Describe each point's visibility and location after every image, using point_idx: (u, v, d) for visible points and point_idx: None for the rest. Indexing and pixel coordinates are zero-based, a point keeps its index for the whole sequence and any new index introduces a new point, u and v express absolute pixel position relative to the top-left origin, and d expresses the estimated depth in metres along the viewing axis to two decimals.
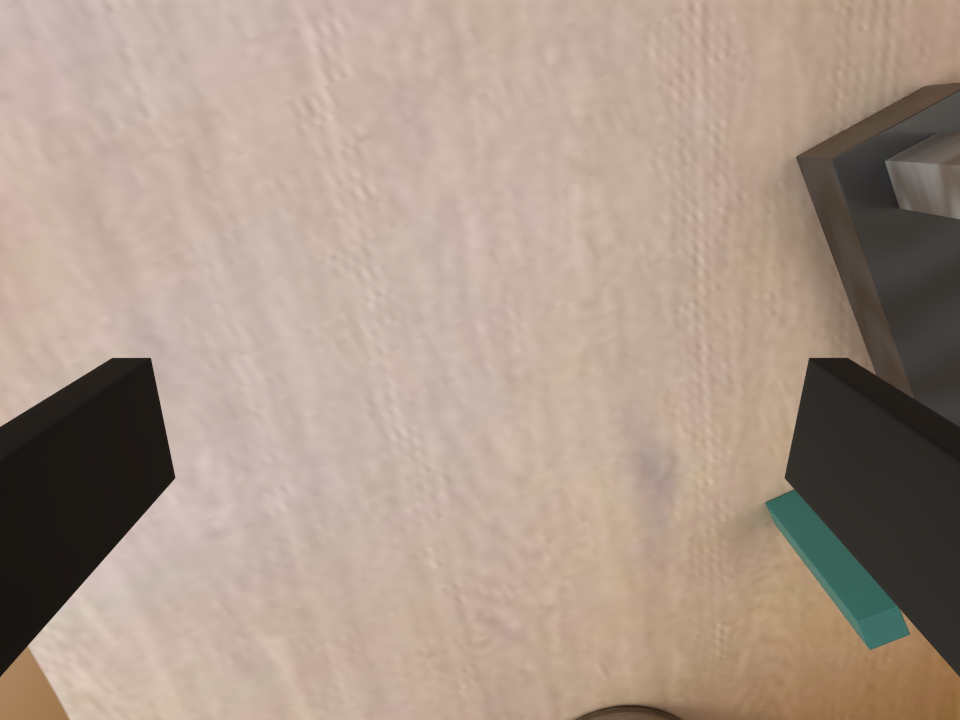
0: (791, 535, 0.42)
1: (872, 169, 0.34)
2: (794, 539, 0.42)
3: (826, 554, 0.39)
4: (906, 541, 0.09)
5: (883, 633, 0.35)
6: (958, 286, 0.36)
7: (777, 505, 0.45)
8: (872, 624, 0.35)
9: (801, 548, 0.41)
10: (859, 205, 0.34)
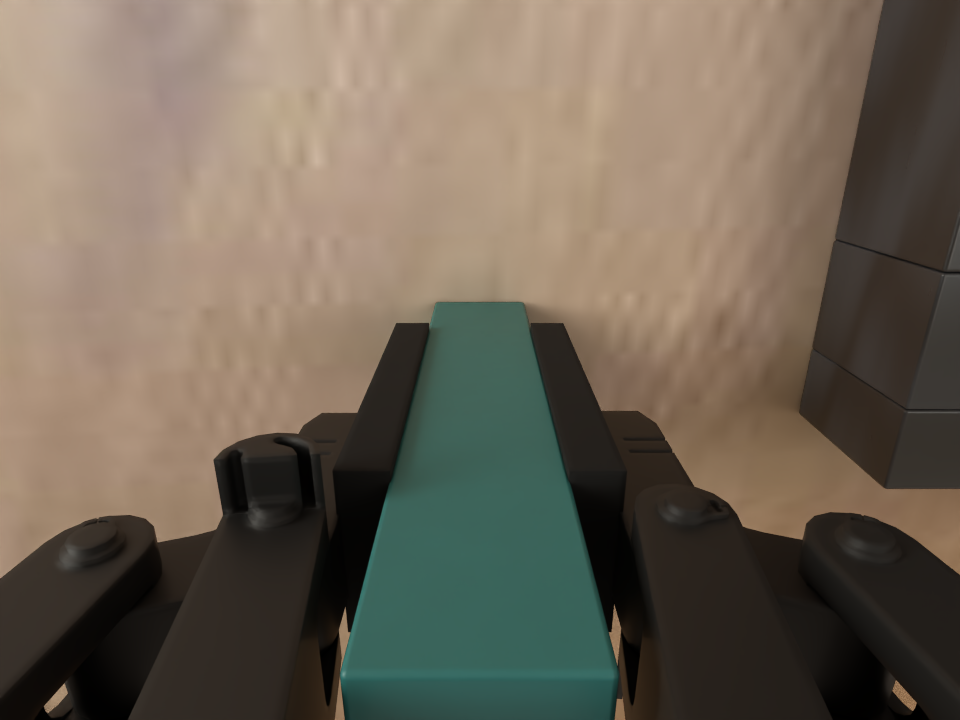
0: (425, 353, 0.13)
1: None
2: (423, 361, 0.12)
3: (475, 406, 0.10)
4: None
5: None
6: None
7: (456, 310, 0.16)
8: None
9: (418, 379, 0.11)
10: None
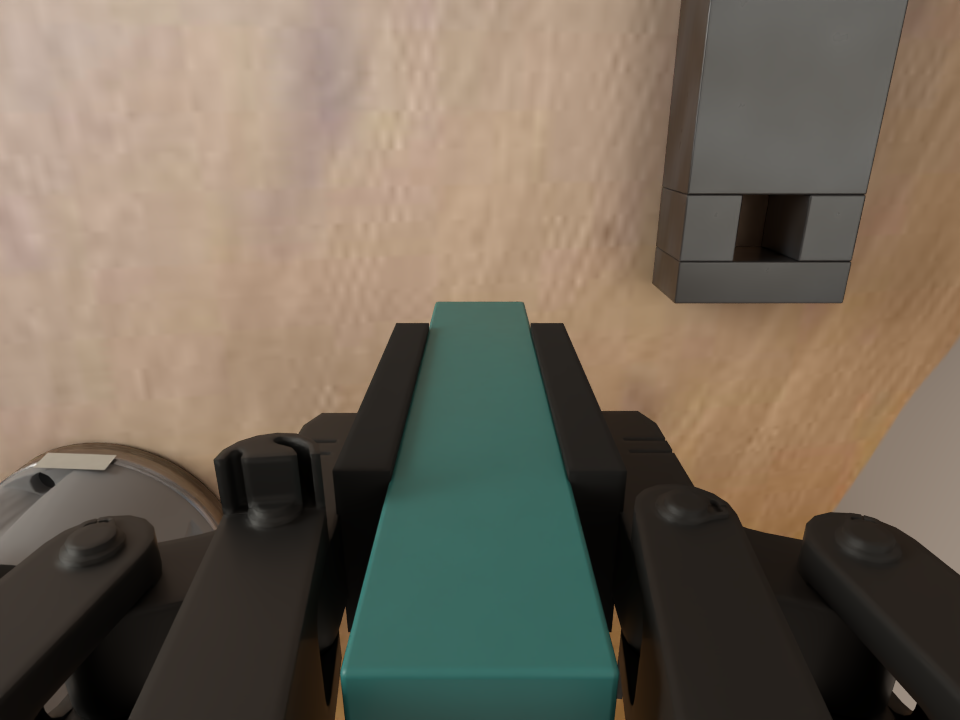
0: (425, 352, 0.13)
1: None
2: (423, 360, 0.12)
3: (475, 406, 0.10)
4: None
5: None
6: None
7: (456, 309, 0.16)
8: None
9: (419, 378, 0.11)
10: None
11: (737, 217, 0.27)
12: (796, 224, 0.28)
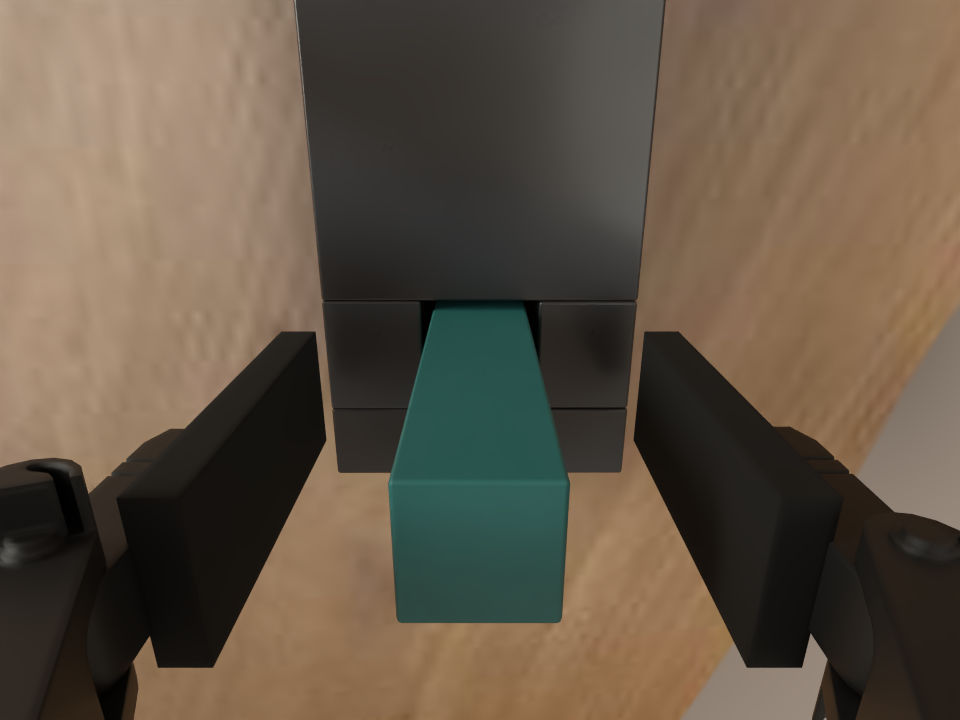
0: (435, 312, 0.15)
1: None
2: (433, 317, 0.15)
3: (476, 346, 0.13)
4: (686, 481, 0.11)
5: (469, 575, 0.08)
6: None
7: None
8: (441, 518, 0.08)
9: (430, 329, 0.14)
10: None
11: (417, 338, 0.16)
12: (535, 344, 0.16)
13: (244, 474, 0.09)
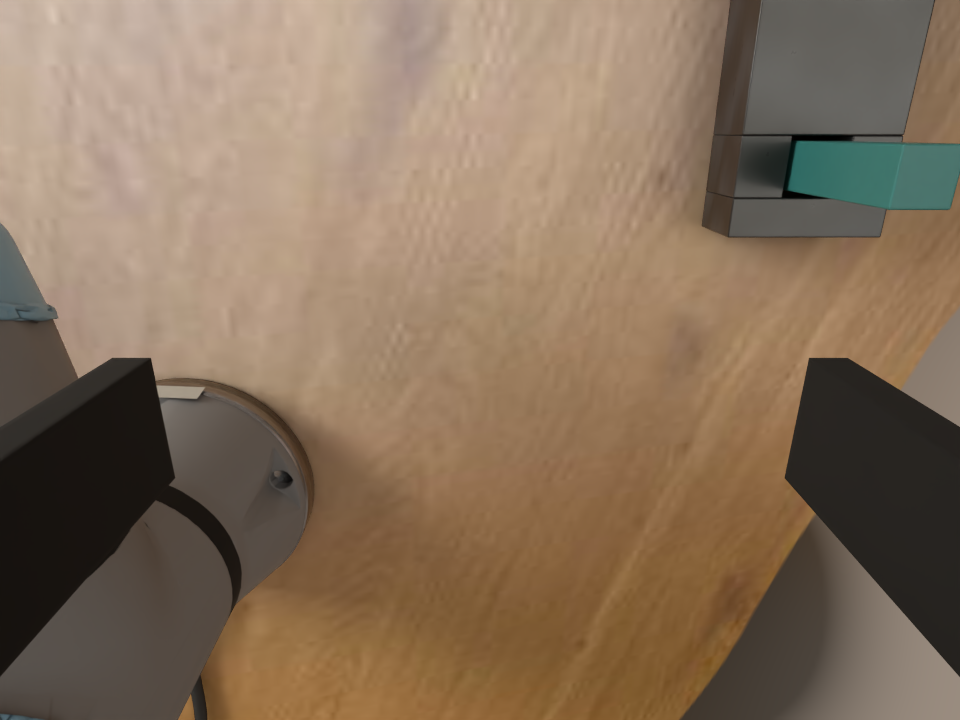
0: (799, 141, 0.30)
1: None
2: (803, 141, 0.30)
3: None
4: (906, 541, 0.09)
5: (922, 186, 0.23)
6: None
7: None
8: (919, 159, 0.23)
9: (813, 142, 0.29)
10: None
11: (786, 156, 0.30)
12: None
13: None
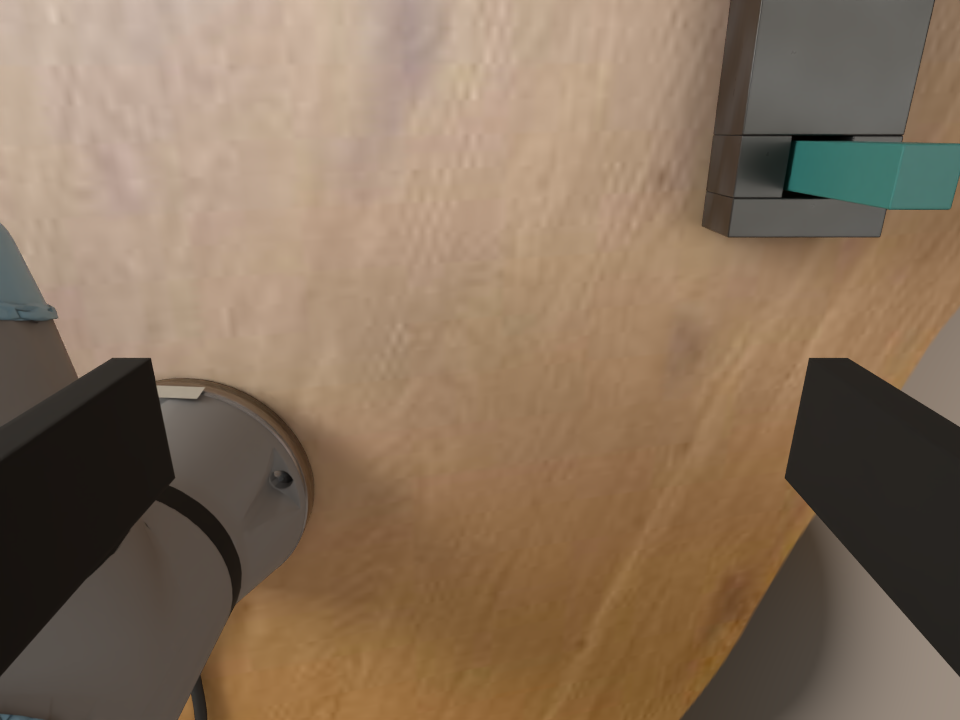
0: (799, 141, 0.30)
1: None
2: (803, 141, 0.30)
3: None
4: (906, 541, 0.09)
5: (922, 186, 0.23)
6: None
7: None
8: (919, 159, 0.23)
9: (814, 142, 0.29)
10: None
11: (786, 156, 0.30)
12: None
13: None
